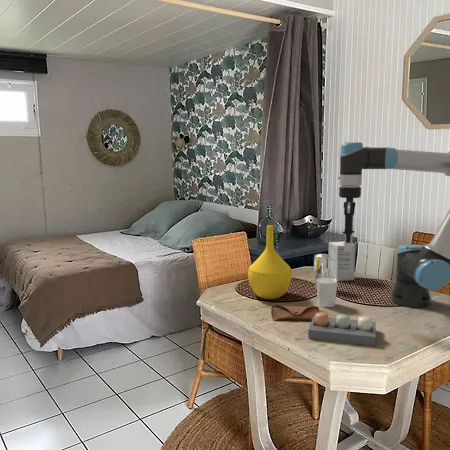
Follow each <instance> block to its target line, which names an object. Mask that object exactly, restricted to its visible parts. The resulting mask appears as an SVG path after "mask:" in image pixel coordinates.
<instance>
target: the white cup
mask: <svg viewBox="0 0 450 450" xmlns="http://www.w3.org/2000/svg"><path fill="white" fill-rule="evenodd" d="M337 287H338V281H337V280H336V279H333V278H330V277H328V278H319V279H317V290H316V294H317V296H316V297H317V305H318V307H319V306H320V307H322V308H332V307H333V308H334V307H335V306H336V298H337Z"/></svg>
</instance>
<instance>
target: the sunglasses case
mask: <svg viewBox="0 0 450 450" xmlns="http://www.w3.org/2000/svg"><path fill="white" fill-rule="evenodd" d="M270 309H271V311H270V313H271V318H272V322H310V323H311V321H312V318H313V316H315V313H318V312H320V308H319V306H314V305H313V306H303V305H302V306H300V305H299V306H297V305H296V306H295V305H294V306H293V305H279V304H278V305H277V304H274V305H272V306H271V308H270Z"/></svg>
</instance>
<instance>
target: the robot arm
mask: <svg viewBox="0 0 450 450" xmlns="http://www.w3.org/2000/svg"><path fill="white" fill-rule="evenodd" d="M339 153H340V154H339V176H337V179H338V180H339V187H338V189H339V191H338V193H339V194H338V196H339V198H342V199H345V201H344V202H343V209H344V210H343V215H344V231H342V234H344V239H343V241H344V251H351V252H352V244H353V234H354V233H355V230H353V229H354V227H353V226H354V224H353V223H354V215H355V209H356V202H355V201H354V199H359V198H361V196H362V187H361V186H362V181H363V180H362V179H363V173H362V171H363V170H385V171H386V170H399V171H401V170H402V171H411V172H413V171H414V172H424V173H425V172H427V173H438V174H439V173H440V174H444V175H445V176H446V177H450V150H449V151H447V152H437V151H436V152H434V151H423V150H408V149H397V148H395V147H388V146H387V147H369V146H364V144H363V142H361V141H360V142H357V141H356V142H353V141H352V142H350V141H349V142H343V143H342V144H341V145H340V152H339ZM397 248H398V249H397V252H396V255H397V257H396V258H397V259H396V275H395V276H396V277H395V278H396V279H395V283H394V286H393V288H392V291H391V294H390V301H391V302H392V303H394V304H396V305H399V306H403V307H409V308H424V307H429V306H431V304H432V296H431V293H430V290H431V291H436V290H440V289H443V288H444V287H446V286H447V285H448V284H449V283H450V209H448V211H447V213H446V215H445V217H444V218H443V220H442V222H441V224H440V225H439V227H438V229H437V230H436V232H435V234H434V235H433V237H432V239H431V241H430V242H429V243H427V244H424V245H422V244H401V245H400V246H398V247H397Z"/></svg>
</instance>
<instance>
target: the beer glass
mask: <svg viewBox="0 0 450 450" xmlns="http://www.w3.org/2000/svg"><path fill="white" fill-rule="evenodd" d="M313 269H314V276H315V277H314V278H315V284H314V290H316V291H317V279H319V278H330V277H329V272H330V255H329V254H327V253H316V254H314V259H313Z"/></svg>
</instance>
